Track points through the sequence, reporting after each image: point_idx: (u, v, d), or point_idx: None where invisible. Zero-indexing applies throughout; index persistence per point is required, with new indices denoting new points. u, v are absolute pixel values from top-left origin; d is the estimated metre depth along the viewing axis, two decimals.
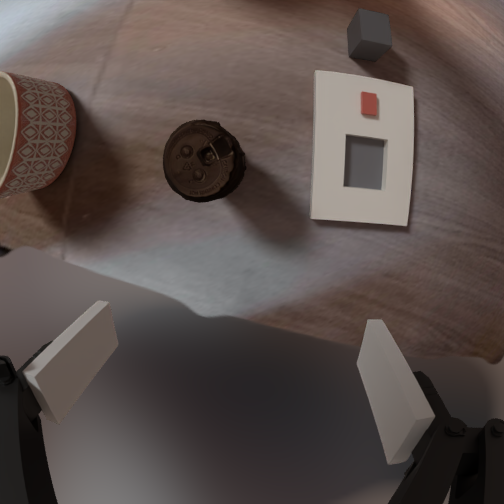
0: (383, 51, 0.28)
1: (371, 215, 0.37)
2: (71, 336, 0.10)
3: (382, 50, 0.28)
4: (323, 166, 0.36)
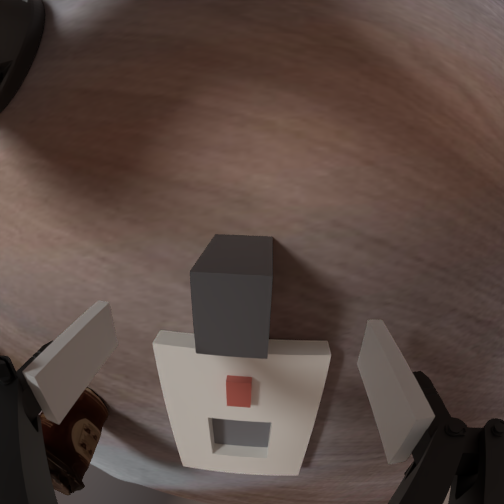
0: None
1: (250, 471, 0.27)
2: (71, 336, 0.10)
3: None
4: (185, 438, 0.26)
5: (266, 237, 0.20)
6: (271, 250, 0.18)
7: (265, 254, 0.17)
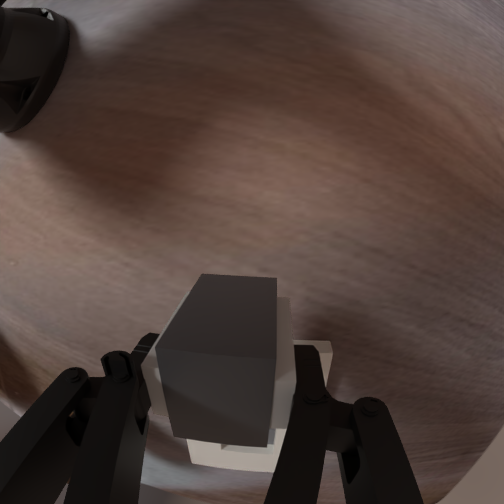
0: None
1: (256, 467, 0.29)
2: None
3: None
4: None
5: (268, 279, 0.15)
6: (275, 304, 0.12)
7: (266, 312, 0.12)
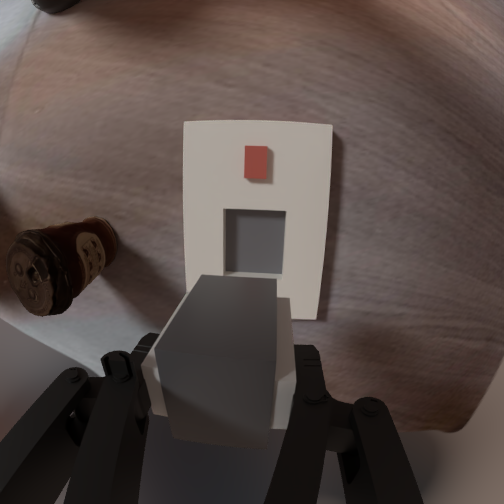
0: None
1: None
2: None
3: None
4: (196, 252, 0.30)
5: (268, 279, 0.15)
6: (275, 305, 0.12)
7: (266, 313, 0.12)
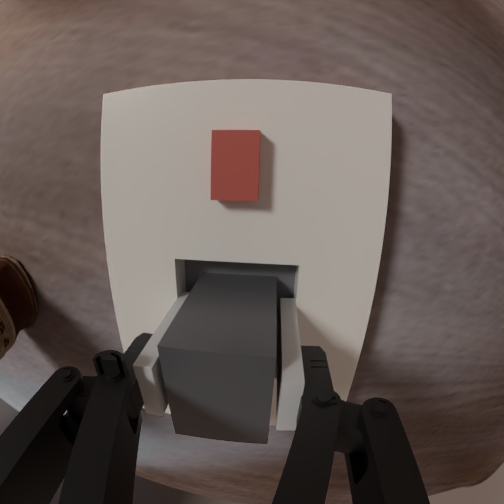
0: None
1: None
2: None
3: None
4: (136, 330, 0.16)
5: (267, 277, 0.15)
6: (275, 303, 0.13)
7: (266, 311, 0.12)
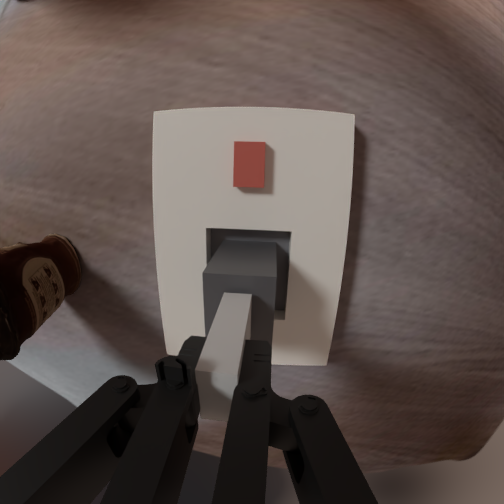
0: None
1: None
2: (225, 327, 0.12)
3: None
4: (172, 284, 0.22)
5: (270, 242, 0.22)
6: (275, 254, 0.19)
7: (269, 258, 0.19)
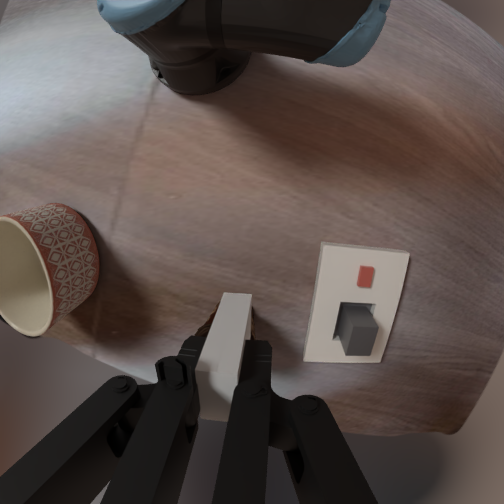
0: None
1: (351, 358, 0.46)
2: (225, 327, 0.12)
3: None
4: (318, 326, 0.44)
5: (363, 306, 0.44)
6: None
7: (370, 317, 0.41)
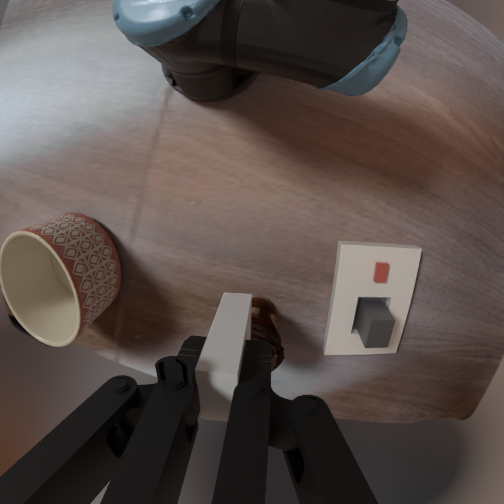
0: None
1: (369, 350, 0.47)
2: (225, 327, 0.12)
3: None
4: (337, 321, 0.46)
5: (379, 300, 0.46)
6: (387, 308, 0.43)
7: (386, 310, 0.42)
